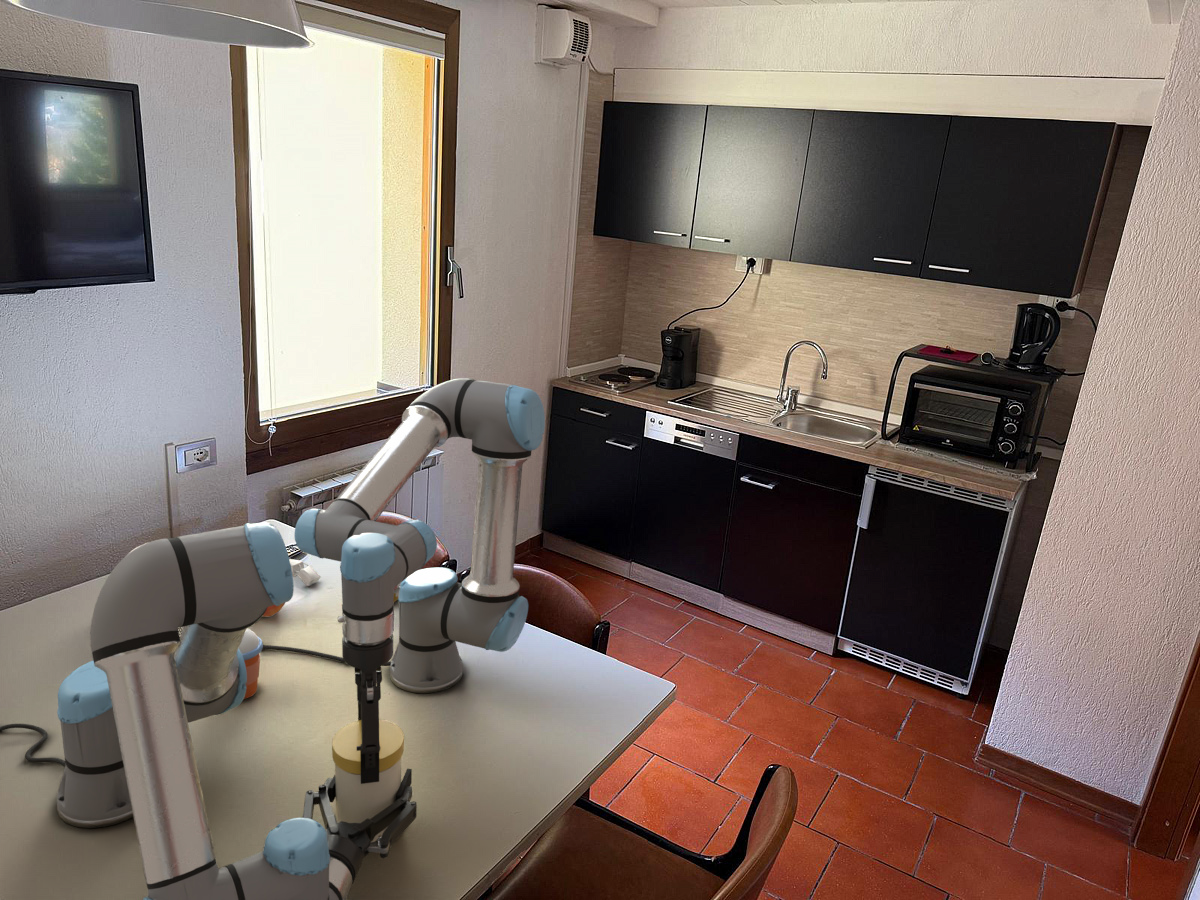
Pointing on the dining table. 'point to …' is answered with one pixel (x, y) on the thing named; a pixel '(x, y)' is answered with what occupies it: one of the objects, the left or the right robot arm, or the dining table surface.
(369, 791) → the jar
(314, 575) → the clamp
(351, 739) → the lid
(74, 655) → the dining table surface
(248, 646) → the cup with straw
